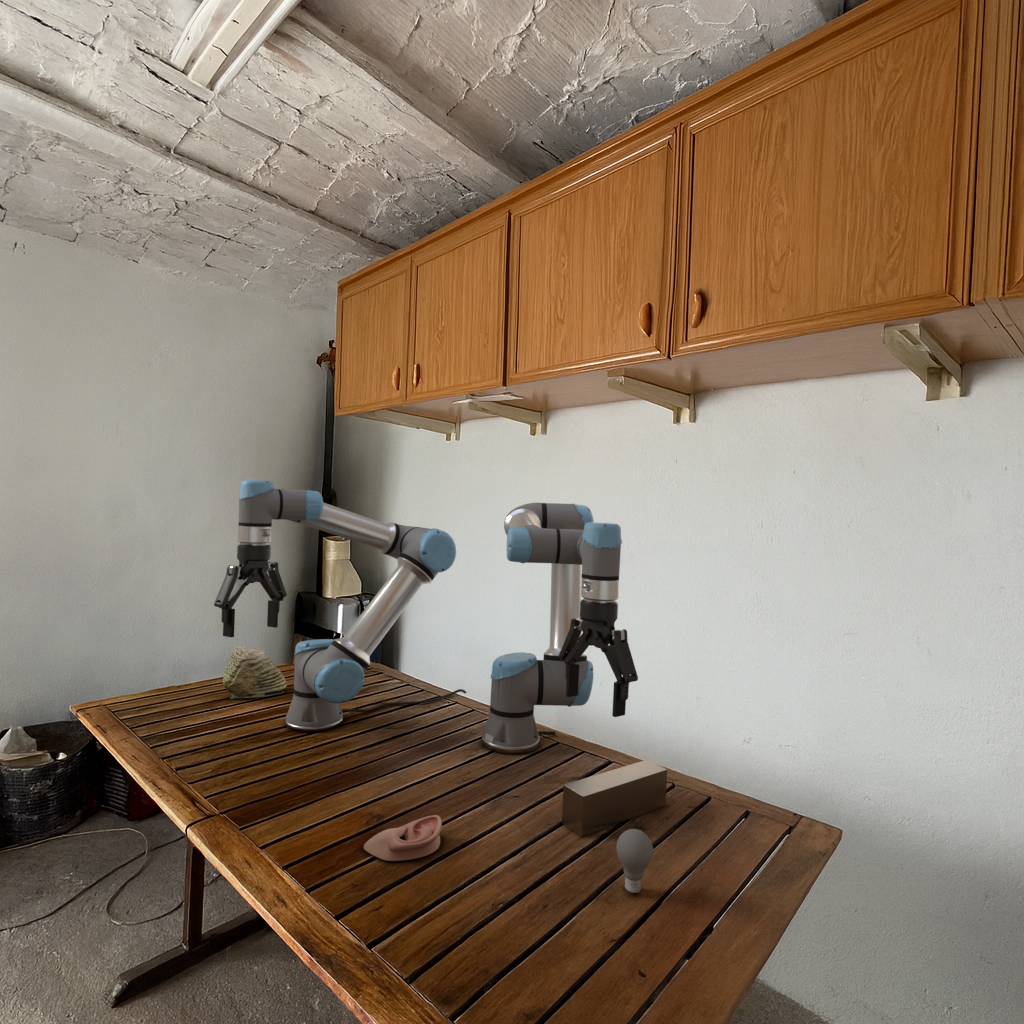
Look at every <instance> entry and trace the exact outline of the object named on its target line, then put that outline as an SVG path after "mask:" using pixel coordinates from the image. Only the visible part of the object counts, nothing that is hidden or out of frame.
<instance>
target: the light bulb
mask: <svg viewBox="0 0 1024 1024" xmlns="http://www.w3.org/2000/svg"><path fill="white" fill-rule="evenodd" d="M615 849H616V854H617V857H618V859H619V861H620V863H621V865H622V867H623V873H624V874H623V875H624V876H625V878H624V888H625V890H627V891H628V892H630V893H634V894H635V893H639V892H640V891H641V889H642V887H641V886H642V879H643V877H644V875H645V871H646V868H647V867H648V866H649V864H650V863H651V861H652V859H653V855H654V847H653V843H652V841H651V838H649V836H648V835H647V834H646V833H645V832H643V831H642V830H641V829H636V828H629V829H627V830H625V831H623V832H622V833H621V834H620V835H619V837H618V839H617V841H616V847H615Z"/></svg>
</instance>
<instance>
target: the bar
mask: <svg viewBox="0 0 1024 1024" xmlns="http://www.w3.org/2000/svg"><path fill="white" fill-rule="evenodd" d="M667 783H668V769H667V768H665V767H664V766H661V765H659V764H657V763H654V762H653V761H650V760H649V759H645V760H641V761H638V762H635V763H631V764H628V765H623V766H621V767H618V768H615V769H612V770H608V771H604V772H601V773H597V774H594V775H591V776H588V777H584V778H582V779H578V780H575V781H572V782H568V783H565V784H563V786H562V787H563V788H562V789H563V790H562V812H561V824H562V825H563V826H565V827H567V828H568V829H570V831H572V832H574V833H575V834H577V835H578V836H580V837H585V836H588V835H591V834H593V833H595V832H598V831H601V830H604V829H606V828H609V827H611V826H614V825H617V824H619V823H623V822H626V821H627V820H630V819H633V818H636V817H639V816H641V815H644V814H647V813H649V812H652V811H655V810H657V809H660V808H663V807H666V806H667V805H666V804H667V785H668V784H667Z"/></svg>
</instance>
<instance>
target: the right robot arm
mask: <svg viewBox="0 0 1024 1024" xmlns="http://www.w3.org/2000/svg"><path fill="white" fill-rule="evenodd" d="M503 527H504V532H505V535H506V559H507V561H509V562H512V563H520V564H551V569H550V572H551V573H550V605H549V606H550V611H549V612H550V613H549V615H550V616H549V646H548V648H547V649H546V650H545V651H544V652H543V659H538V658H537V656H536V654H534V653H531V652H526V651H525V652H524V651H523V652H509V653H506V654H503V655H500V656H497V657H496V658H495V659H494V660H493V662H492V666H491V674H490V679H491V686H490V701H489V714H488V717H487V719H486V722H485V725H484V728H483V731H482V733H481V744H482V746H484V747H485V748H486V749H488V750H489V751H492V752H496V753H500V754H507V755H520V754H526V753H530V752H533V751H535V750H536V749H538V748H539V746H540V736H556V731H554V730H538V726H537V723H536V719H535V706H553V707H554V706H555V707H556V706H559V707H560V706H561V707H563V706H565V707H568V708H570V707H579V706H580V707H582V706H585V705H586V704H587V702H588V701H589V700H590V697H591V693H592V689H593V683H594V664H593V662H592V661H590V660H588V654H587V653H586V650H587V649H588V648H589V646H591V647H592V646H593V647H595V648H597V649H600V652H602V653H604V655H605V657H606V660H607V662H608V664H609V666H610V668H611V670H612V672H613V675H614V678H615V679H616V681H613V691H612V693H613V694H612V717H613V718H618V717H623V716H626V703H627V700H628V699H629V689H630V688H629V687H630V683H633V682H637V681H638V680H639V676H638V672H637V669H636V666H635V662H634V659H633V655H632V652H631V648H630V645H629V642H628V631H627V630H628V629H626V628H623V629H616V627H615V623H616V621H617V620H618V613H619V603H618V601H617V600H618V599H619V595H620V594H619V591H620V590H619V589H620V568H621V552H622V551H621V550H622V544H623V539H622V527H621V526H620V524H618V523H613V522H612V523H611V522H595V521H594V516H593V512H592V510H591V508H590V507H588V505H584V504H576V503H555V502H553V503H552V502H529V503H525V504H522V505H519V506H517V507H515V508H513V509H511V511H509V512H508V513H507V514H506V516H505V518H504V521H503Z"/></svg>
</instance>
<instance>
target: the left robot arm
mask: <svg viewBox="0 0 1024 1024" xmlns="http://www.w3.org/2000/svg"><path fill="white" fill-rule="evenodd" d="M273 520H285V521H291V522H294V523H297V524H301V525H304V526H306V527H310V528H313V529H316V530H319V531H322V532H326V533H328V534H332V535H335V536H338V537H341V538H344V539H348V540H350V541H353V542H357V543H360V544H363V545H366V546H370V547H372V548H375V549H378V552H379V553H380V554H383V555H386V556H389V557H391V558H393V559H396V561H397V566H396V568H395V569H394V571H393V572H392V573H391V575H390V576H389V577H388V578H387V580H386V581H385V582H384V584H383V585H382V587H380V589H379V590H378V592H376V594H375V596H373V598H372V599H371V600H370V602H369V603H368V605H367V606H366V607H365V609H364V610H363V611H362V612H361V614H360V615H359V617H358V618H357V619H356V620H355V621H354V623H353V624H352V625H351V627H350V628H349V629H348V630H347V632H346V633H345V635H344V636H342V637H340V638H334V639H332V638H323V639H322V638H320V639H307V640H303V641H299V642H297V644H296V645H295V650H294V651H295V652H294V653H293V654H294V655H293V656H294V672H293V673H294V674H293V695H292V696H293V697H292V699H291V702H290V704H289V708H288V711H287V712H286V713H285V716H284V717H285V726H286V728H287V729H289V730H291V731H294V732H295V731H296V732H301V733H316V732H325V731H329V730H332V729H335V728H337V727H339V726H340V725H342V723H343V722H344V714H343V713H351V712H353V713H354V712H355V713H356V712H357V713H367V712H372V711H375V710H377V709H380V708H382V707H387V706H400V705H401V706H402V705H404V706H405V705H418V704H419V705H420V704H427V703H433V702H437V701H441V700H443V699H445V698H448V697H451V696H453V695H456V694H457V693H459V692H460V693H463V694H467V693H468V692H467V691H466V690H465V689H462V688H458V689H456V690H454V691H452V692H450V693H446V694H444V695H441V696H438V697H436V698H431V699H425V700H414V701H392V702H391V701H390V702H385V703H381V704H377V705H376V706H373V707H370V708H342V706H341V704H344V703H347V702H350V701H351V700H352V699H354V698H356V696H358V694H359V693H360V692H361V691H362V689H363V686H364V683H365V673H366V671H367V670H368V669H369V667H370V665H371V659H370V657H371V656H372V654H373V653H374V651H375V649H376V648H377V647H378V645H379V644H380V643H381V641H383V639H384V638H385V636H386V634H387V633H388V632H389V631H390V630H391V628H392V627H393V626H394V624H395V623H396V621H397V620H398V618H399V617H400V616H401V615H402V613H403V612H404V610H405V609H406V608H407V607H408V605H409V604H410V602H412V599H413V598H414V597H415V596H416V594H417V593H418V591H419V590H420V589H421V587H422V586H423V585H427V584H432V582H433V580H434V579H435V578H436V577H437V575H438V574H439V573H444V572H446V571H448V570H449V569H450V568H451V567H452V566H453V565H454V563H455V561H456V557H457V548H456V543H455V540H454V539H453V537H452V536H451V535H450V534H449V533H448V532H446V531H445V530H441V529H439V528H427V527H421V526H411V525H404V524H398V523H396V522H392V521H389V522H388V523H386V522H382V521H379V520H376V519H373V518H370V517H367V516H365V515H362V514H359V513H356V512H353V511H350V510H347V509H344V508H341V507H339V506H335V505H333V504H329V503H326V502H324V498H323V496H322V493H321V492H319V491H318V490H310V489H285V488H275V486H274V482H273V481H272V480H262V479H243V480H242V481H241V482H240V483H239V495H238V526H237V527H238V528H237V542H238V543H239V544H238V545H237V547H236V548H237V549H236V559H237V560H238V565H231V564H229V565H227V567H226V574H225V576H224V579H223V581H222V583H221V586H220V588H219V590H218V593H217V596H216V598H215V600H214V602H213V606H214V607H217V608H218V609H221V623H222V637H225V638H226V637H227V638H234V637H235V624H236V623H235V621H236V620H235V619H236V609H235V608H233V607H234V605H235V604H236V602H237V601H238V599H239V598H240V596H241V594H242V593H243V592H244V590H245V588H246V587H247V586H249V585H250V584H255V583H259V584H260V585H261V587H262V588H263V589H264V591H265V593H266V594H267V595H268V597H269V598H270V600H267V617H266V619H267V622H266V626H267V627H268V628H274V629H275V628H278V627H279V623H278V622H279V614H280V609H281V608H280V607H281V602H283V601H284V600H285V598H286V597H287V595H288V594H287V591H286V588H285V585H284V583H283V579H282V577H281V574H280V570H279V562H277V561H270V560H271V555H272V546H271V542H272V526H273Z"/></svg>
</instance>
